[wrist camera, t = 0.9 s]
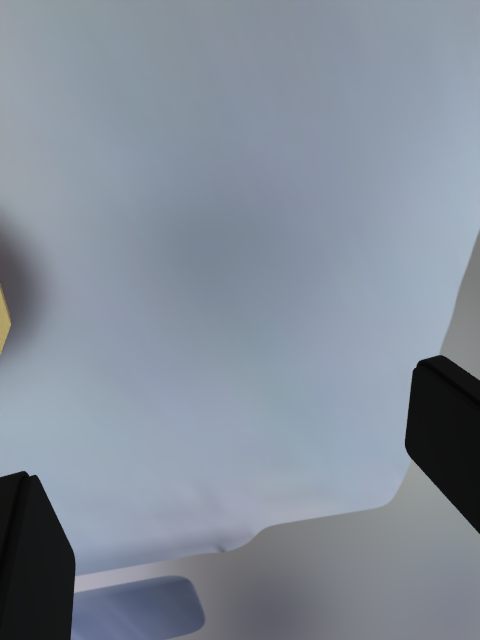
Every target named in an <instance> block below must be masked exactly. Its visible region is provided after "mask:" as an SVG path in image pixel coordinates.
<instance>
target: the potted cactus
mask: <svg viewBox="0 0 480 640" xmlns="http://www.w3.org/2000/svg"><path fill="white" fill-rule="evenodd" d="M10 326H11V318H10V313H9V310H8V306H7V303H6V300H5V297H4V293H3V290H2V287H1V284H0V354H1V351H2V349H3V346H4V343H5V340H6V338H7V335H8V332H9V329H10Z"/></svg>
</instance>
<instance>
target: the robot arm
mask: <svg viewBox="0 0 480 640" xmlns="http://www.w3.org/2000/svg"><path fill="white" fill-rule="evenodd" d="M405 448H406V451H407V453H408V455H409V456H410V457H411V459H412V460H413V461H414V462H415V463H416V464H417V465H418V466H419V467H420V468H421V470H422V471H423V472H424V473H425V474H426V475H427V476H428V477H429V478H430V479H431V481H432V482H433V483H434V484H435V485H436V486H437V487H438V488H439V489H440V491H441V492H442V493H443V494H444V495H445V496H446V497H447V498H448V499H449V501H451V503H452V504H453V505H454V506H455V507H456V508H457V509H458V510H459V511H460V513H461V514H462V515H463V516H464V517H465V518H466V519H467V520H468V522H469V523H470V524H471V525H472V526H473V527H474V528H475V529H476V530H477V531H478V533H479V534H480V380H478V379H477V378H475V377H474V376H472V375H471V374H470V373H468V372H467V371H465V370H464V369H462V368H461V367H459V366H458V365H457V364H455V363H454V362H452V361H451V360H449V359H448V358H446V357H444V356H442V355H438V356H435V357H431V358H428V359H424V360H421V361H419V362H418V364H417V367H416V368H414V370H413V374H412V383H411V392H410V401H409V410H408V419H407V428H406V437H405ZM74 582H75V556H74V552H73V550H72V547H71V545H70V543H69V541H68V539H67V537H66V535H65V533H64V531H63V528H62V526H61V524H60V522H59V520H58V518H57V516H56V514H55V511H54V509H53V507H52V505H51V503H50V501H49V499H48V497H47V495H46V492H45V490H44V488H43V486H42V484H41V482H40V480H39V478H38V476H37V475H33V476H29V475H28V473H27V472H25V471H21V472H18V473H14V474H11V475H7V476H3V477H0V640H70V639H71V625H72V611H73V596H74Z"/></svg>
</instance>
